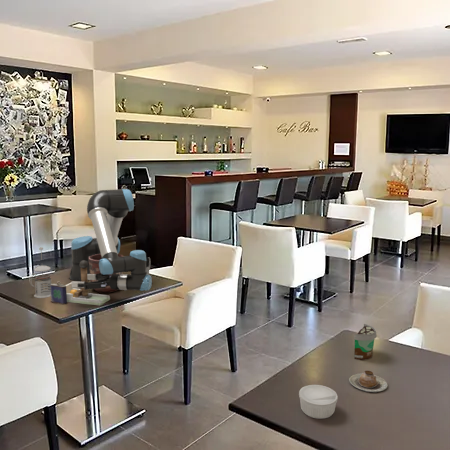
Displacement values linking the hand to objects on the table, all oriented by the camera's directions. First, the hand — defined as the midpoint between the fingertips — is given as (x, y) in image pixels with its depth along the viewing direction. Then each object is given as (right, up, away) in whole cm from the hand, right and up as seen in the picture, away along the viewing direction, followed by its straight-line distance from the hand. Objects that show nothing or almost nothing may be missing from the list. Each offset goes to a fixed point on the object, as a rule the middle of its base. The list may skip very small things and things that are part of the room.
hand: (77, 280), depth 238 cm
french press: (-21, -9, +9) cm, 24 cm away
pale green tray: (+4, -10, +1) cm, 11 cm away
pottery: (+10, -7, +19) cm, 23 cm away
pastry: (+119, -25, -80) cm, 146 cm away
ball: (-2, -7, +2) cm, 8 cm away
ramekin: (+100, -27, -96) cm, 141 cm away
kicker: (+3, -9, +1) cm, 9 cm away
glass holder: (+28, -5, +30) cm, 42 cm away
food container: (+125, -21, -60) cm, 140 cm away
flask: (-8, -11, -2) cm, 14 cm away
